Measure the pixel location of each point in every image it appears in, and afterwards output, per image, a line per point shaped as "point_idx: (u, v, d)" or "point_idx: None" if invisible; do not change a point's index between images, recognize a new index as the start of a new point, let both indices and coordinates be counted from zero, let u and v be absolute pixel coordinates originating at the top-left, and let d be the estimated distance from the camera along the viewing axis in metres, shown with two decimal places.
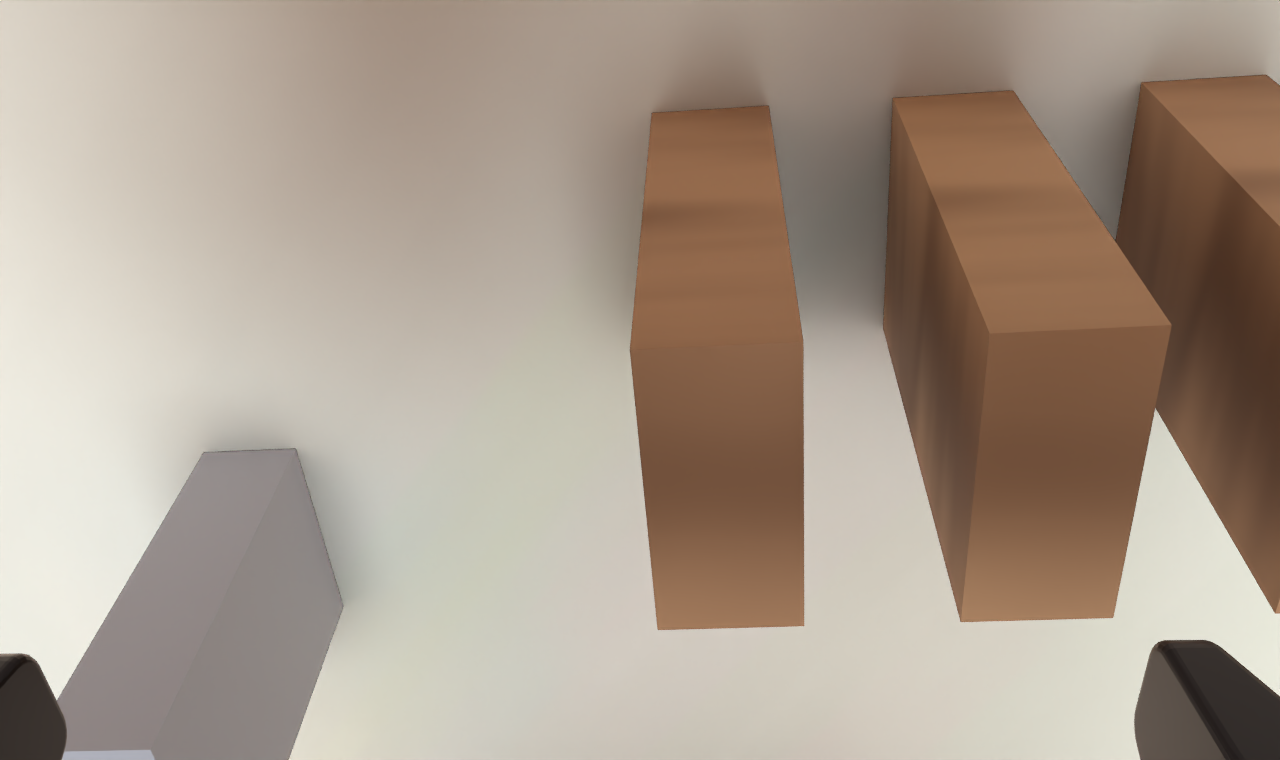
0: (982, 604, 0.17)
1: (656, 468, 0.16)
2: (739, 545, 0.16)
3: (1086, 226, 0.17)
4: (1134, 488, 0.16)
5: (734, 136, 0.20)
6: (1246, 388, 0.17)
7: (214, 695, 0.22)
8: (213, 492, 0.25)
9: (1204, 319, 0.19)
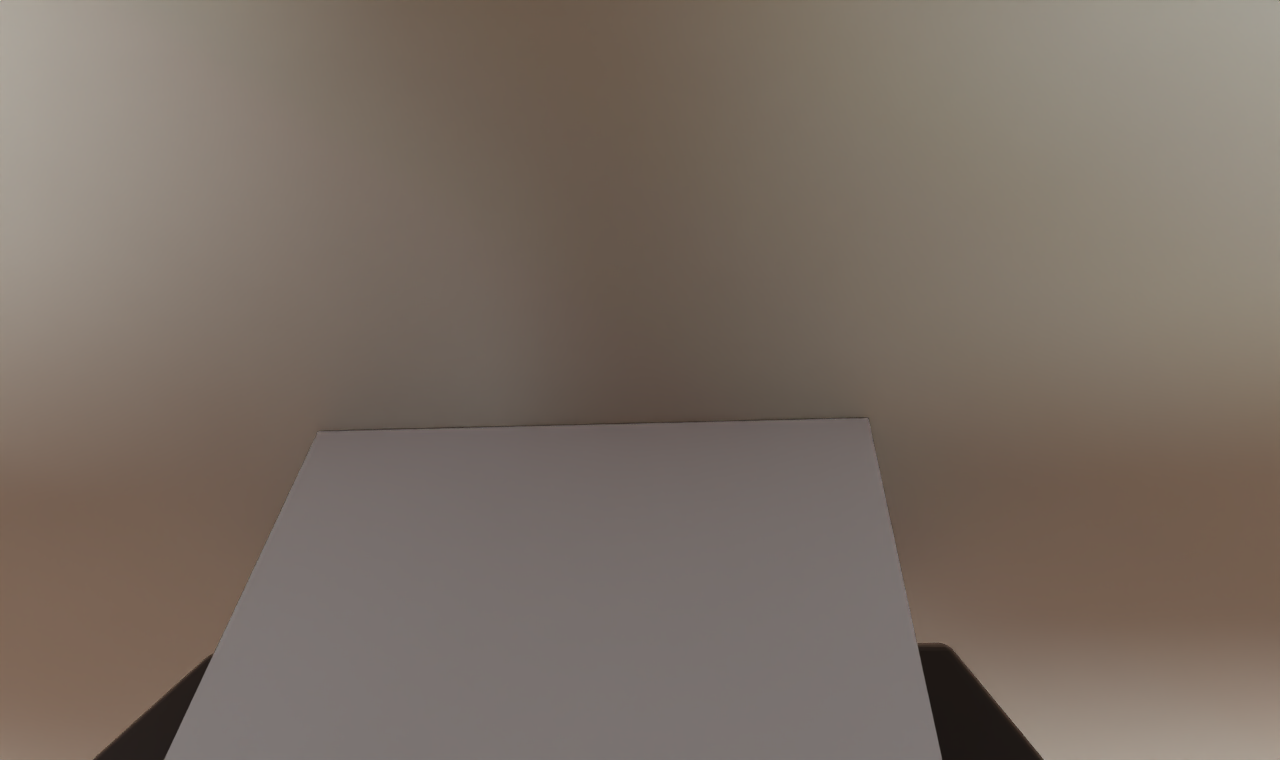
0: None
1: None
2: None
3: None
4: None
5: None
6: None
7: None
8: None
9: None
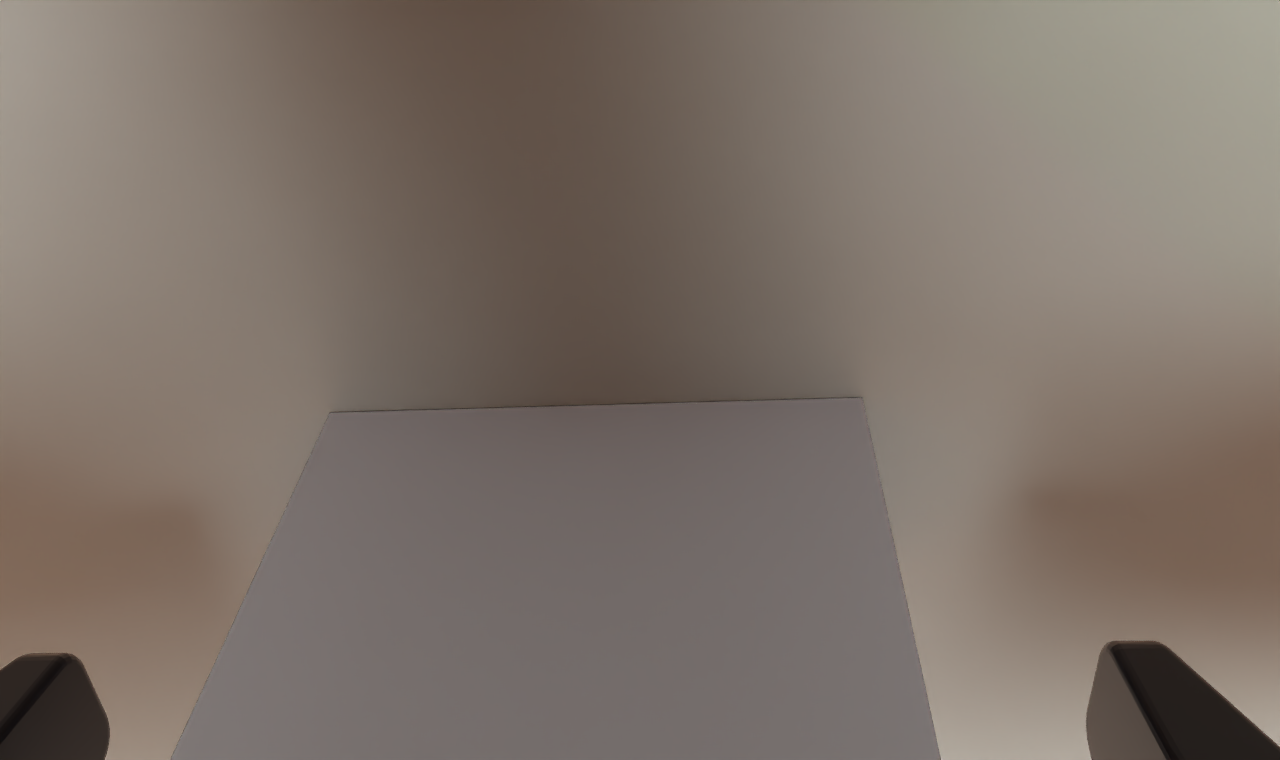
0: None
1: None
2: None
3: None
4: None
5: None
6: None
7: None
8: None
9: None
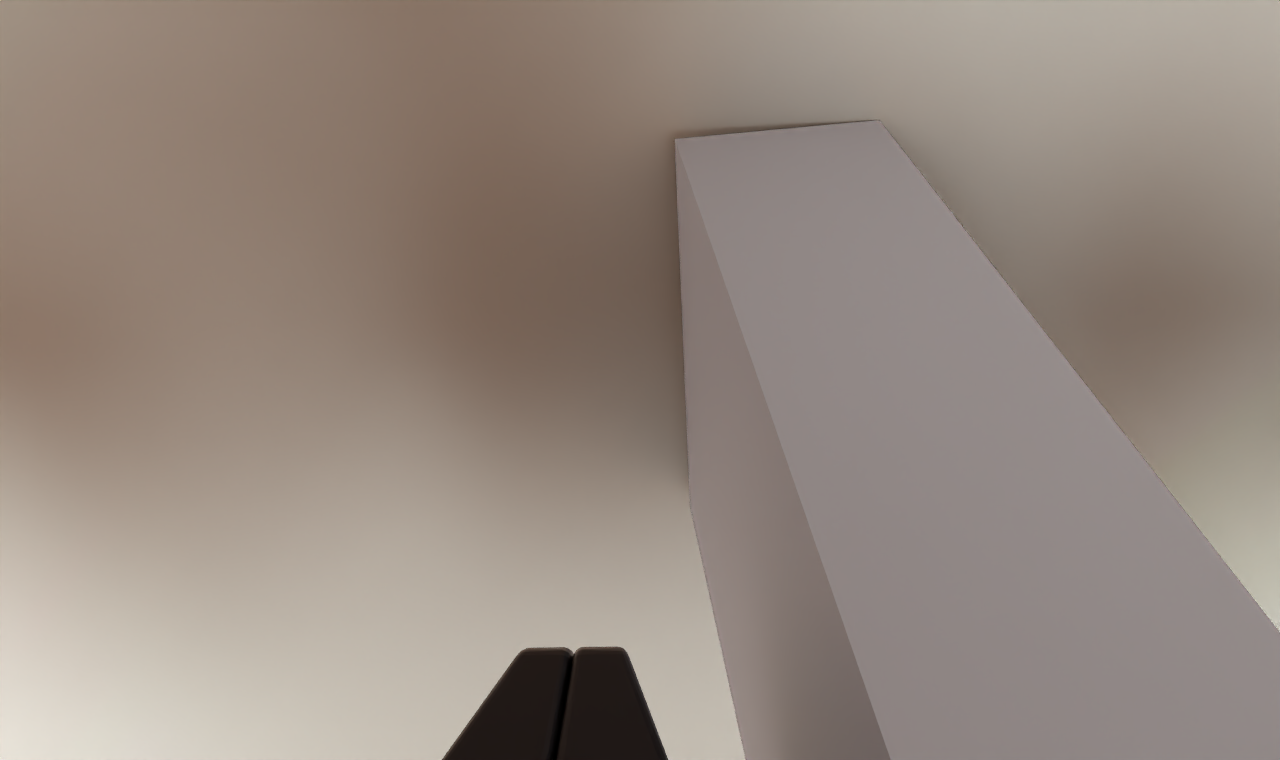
0: None
1: None
2: None
3: None
4: None
5: None
6: None
7: None
8: (780, 189, 0.11)
9: None
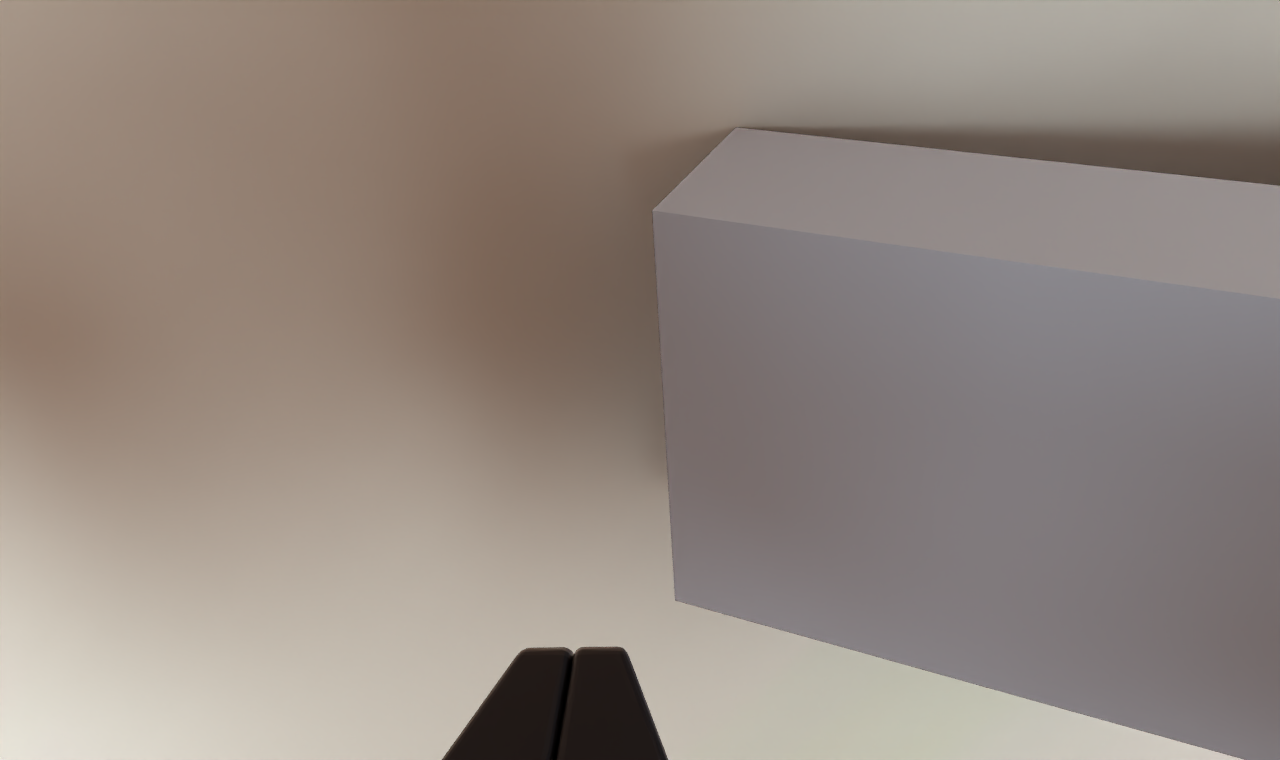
0: None
1: None
2: None
3: None
4: None
5: None
6: None
7: None
8: (835, 195, 0.11)
9: None
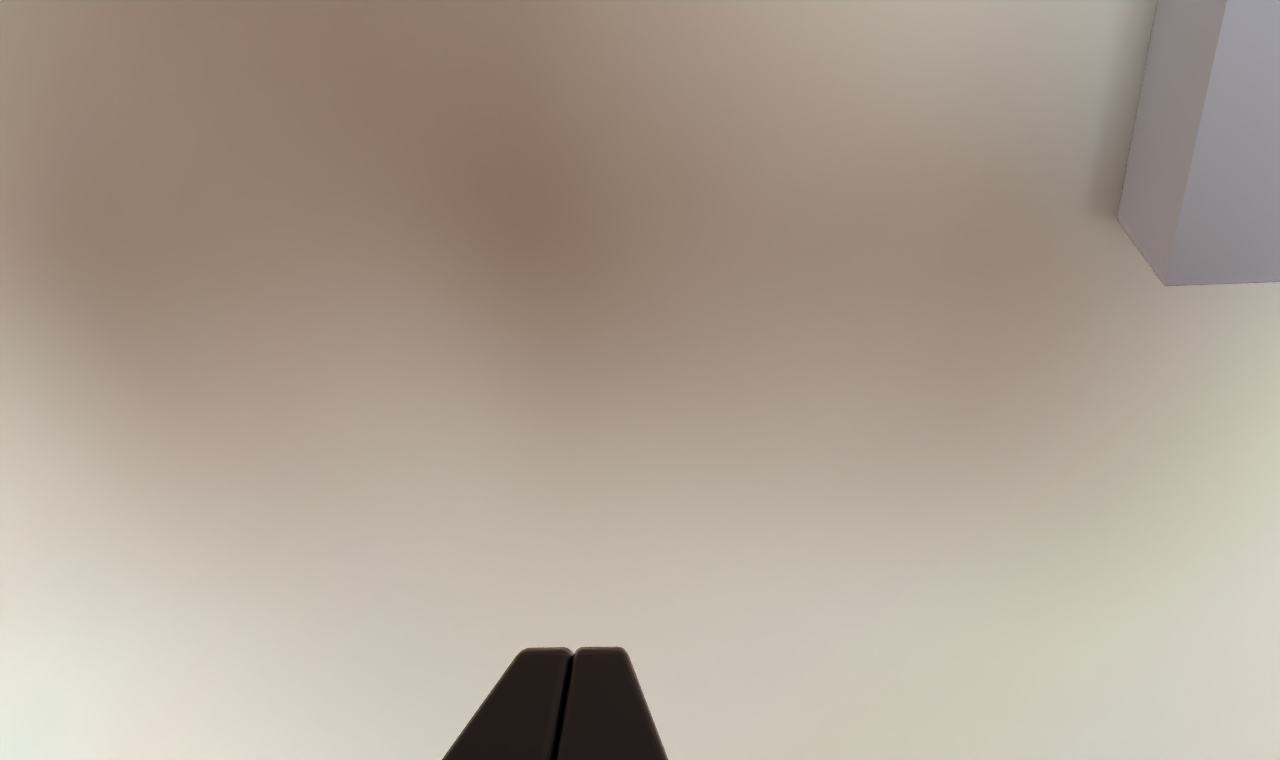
0: None
1: None
2: None
3: None
4: None
5: None
6: None
7: None
8: None
9: None
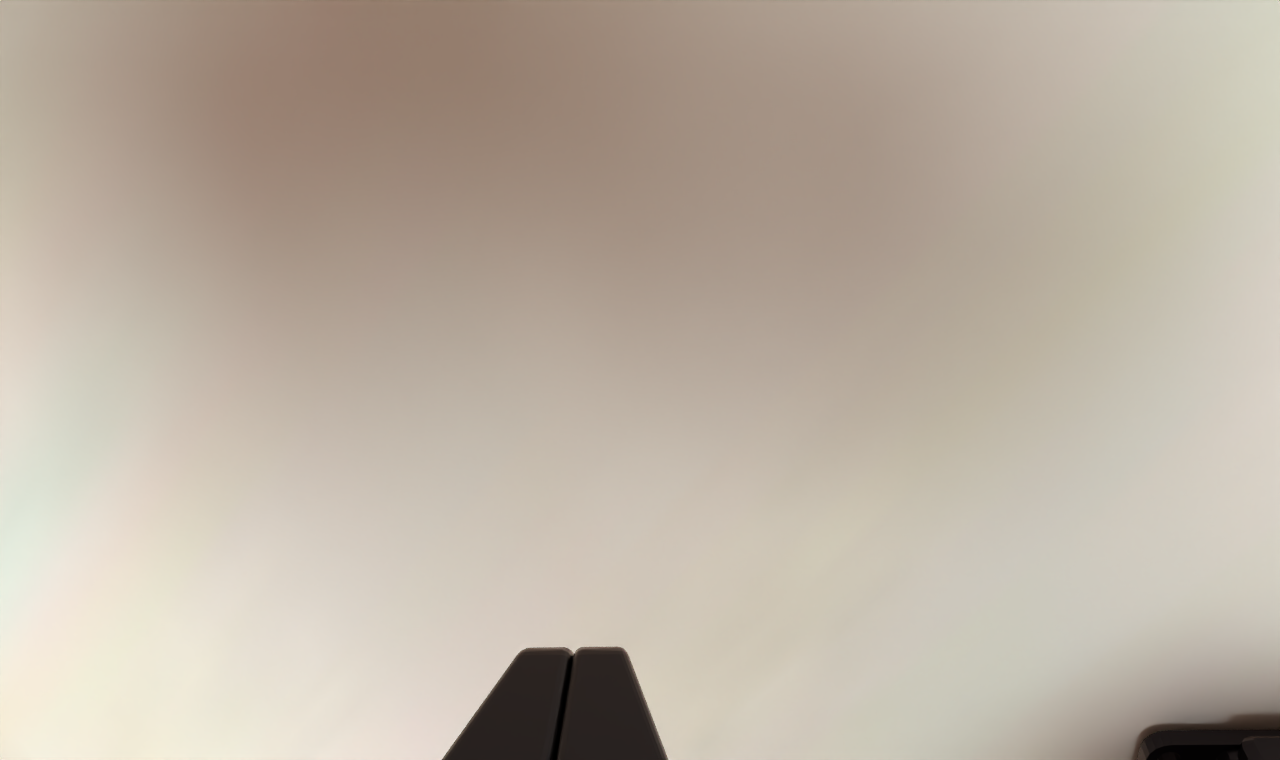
0: None
1: None
2: None
3: None
4: None
5: None
6: None
7: None
8: None
9: None
